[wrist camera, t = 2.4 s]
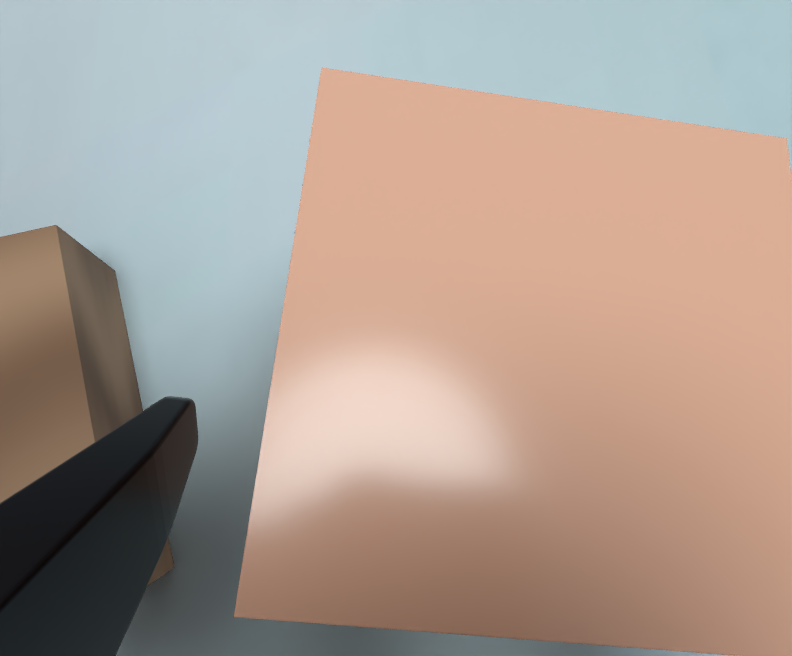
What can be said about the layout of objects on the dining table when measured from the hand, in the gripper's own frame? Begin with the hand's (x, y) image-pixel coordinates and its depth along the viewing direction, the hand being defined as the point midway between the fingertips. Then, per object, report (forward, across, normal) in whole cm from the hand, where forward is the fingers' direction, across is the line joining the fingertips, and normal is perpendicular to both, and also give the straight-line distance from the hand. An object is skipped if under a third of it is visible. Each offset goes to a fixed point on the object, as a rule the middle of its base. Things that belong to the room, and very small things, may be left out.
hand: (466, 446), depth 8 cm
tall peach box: (+7, 0, +6) cm, 9 cm away
